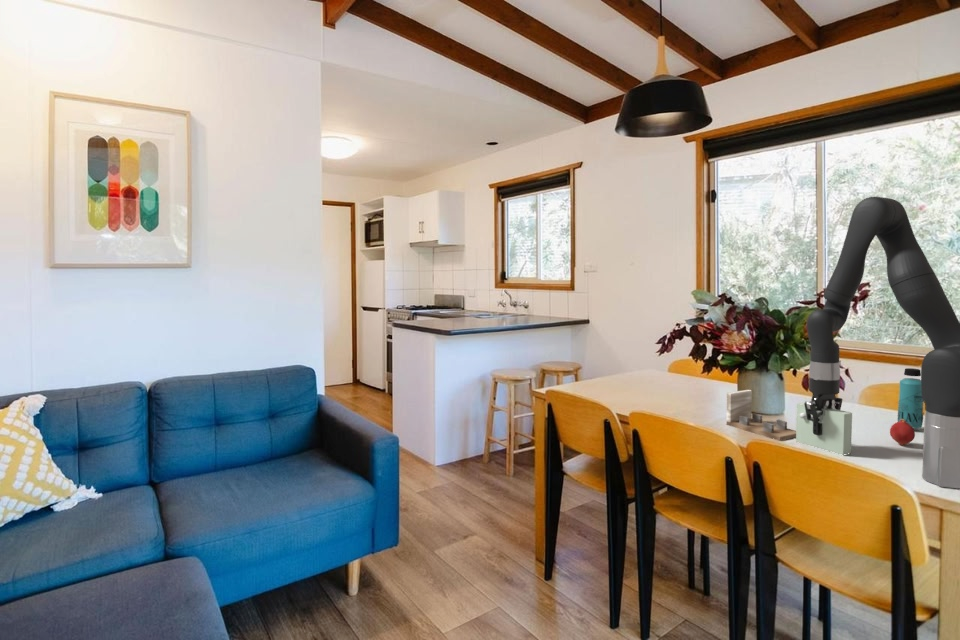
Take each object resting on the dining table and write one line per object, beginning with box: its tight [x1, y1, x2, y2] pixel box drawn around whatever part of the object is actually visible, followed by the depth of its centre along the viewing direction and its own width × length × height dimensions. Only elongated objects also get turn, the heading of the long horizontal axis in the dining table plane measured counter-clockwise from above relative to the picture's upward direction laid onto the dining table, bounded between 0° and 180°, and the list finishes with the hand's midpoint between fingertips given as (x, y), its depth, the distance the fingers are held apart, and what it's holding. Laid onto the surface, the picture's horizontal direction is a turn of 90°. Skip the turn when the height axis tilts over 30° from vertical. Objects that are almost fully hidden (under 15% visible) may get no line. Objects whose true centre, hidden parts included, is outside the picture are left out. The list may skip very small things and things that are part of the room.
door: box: [795, 401, 853, 456], centre depth 152 cm, size 14×4×12 cm, turn 23°
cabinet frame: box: [726, 389, 796, 441], centre depth 171 cm, size 20×10×11 cm, turn 23°
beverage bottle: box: [896, 367, 925, 429], centre depth 167 cm, size 6×7×20 cm
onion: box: [889, 419, 916, 446], centre depth 153 cm, size 6×6×8 cm
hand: (822, 433), depth 152 cm, fingers open, 4 cm apart
